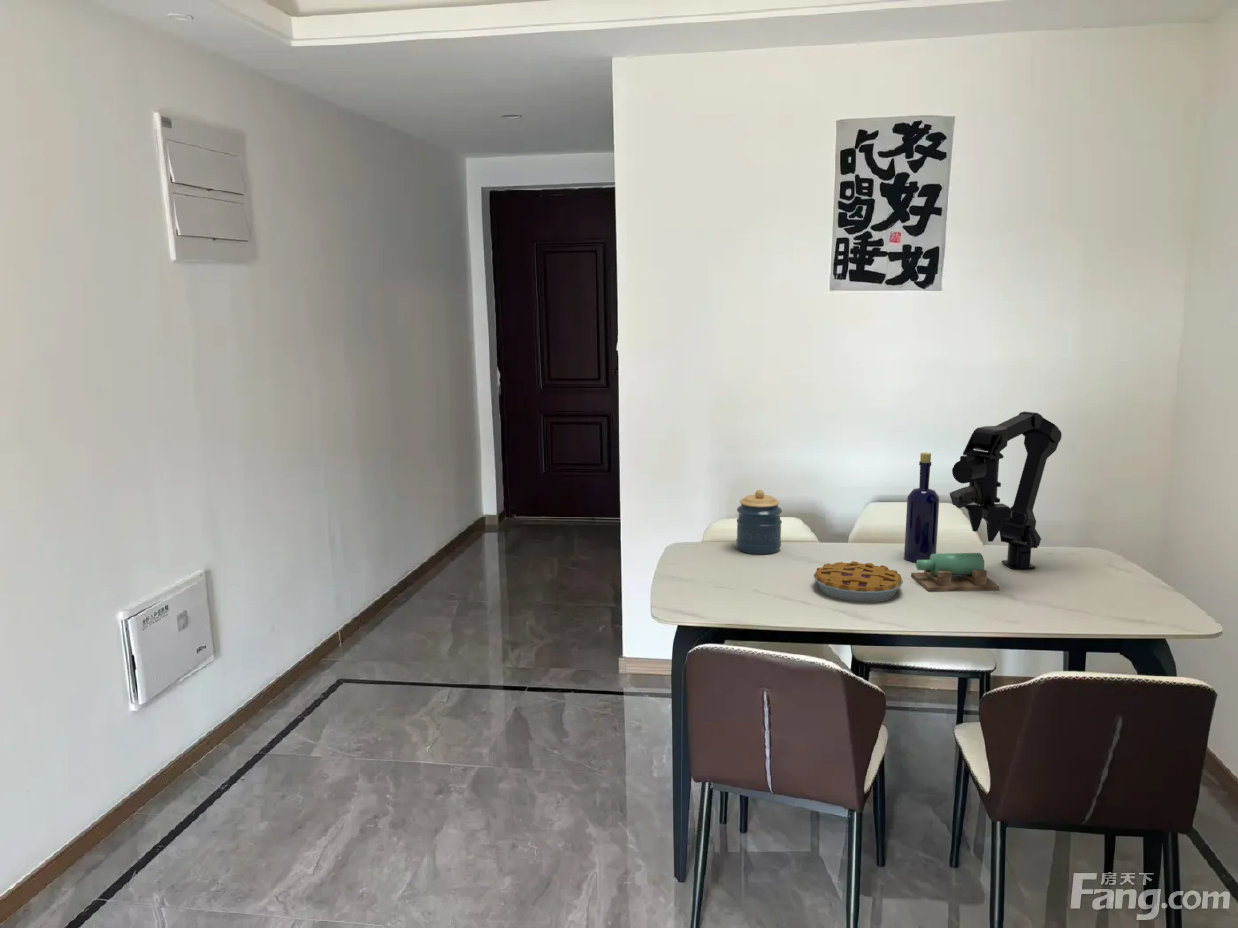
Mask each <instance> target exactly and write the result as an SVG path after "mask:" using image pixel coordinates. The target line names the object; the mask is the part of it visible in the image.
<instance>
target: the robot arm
mask: <svg viewBox="0 0 1238 928" xmlns="http://www.w3.org/2000/svg"><path fill="white" fill-rule="evenodd" d="M1020 435H1021V436H1023V437H1024V439H1023V445H1024V448H1025V452H1026V457H1025V462H1024V466H1023V469H1022V473H1021V477H1020V479H1019V483H1018V486H1017V491H1016V493H1015V494H1016V495H1015V498H1014V500H1013V504H1012V506H1011V507H1010V506H1008V505H1007V504H1004V503H1001V499H1000V497H998V488H1001V486H1002V483H1001V481H999V467H1000V466H999V465H1000V460H1002V459H1004V455H1003V454H1002V453H1001V452H1002V451H1003V450H1004V449H1006V447H1008V442H1009V441H1011V440H1013V439H1015V438H1017V437H1019V436H1020ZM1062 436H1063V435H1062V431H1061V429H1059V427H1058V426H1057V425H1056V424H1055V423H1053V422H1051V421H1050V420H1048V419H1047V418H1044V417H1043V416H1042V414H1040V413H1038V412H1033V411H1021V412H1019V414H1017V415H1015V416H1013V417H1011V418H1009V419H1007V420H1005V421H1003V422H1000V423H998V424H997V425H987V426H980V427H977V428H975V429H974V430H973V431H972V433H971V435H970V437H969V440H968V442H967V444H966V445H965V449H963V453H962V455H961V456H960V457H959V461H957V462H955V464H954V465H953V467H952V470H951V473H952V476H953V478H954V479H955V481H957V482H958V483H959V484H968V483H969V484H968V486H965V487H961V488H958V489H956V490H954V491H951V492H949V497H950V500H951V503H952V505H953V506H955V507H956V508H957V509H961V508H964V509H966V510H967V514H968V517H969V522H970V526H971V530H972V531H973V532H978V530H979V528H980V526H981V523H982V521H983V520H984V521H985V524H986V535H987V541H988V542H994V540H995V539H996V537H997V535H998V533H999V537H1000V538H999V539H1000V542H1001V543H1006V544H1008V545H1007V555H1006V557H1007V558H1006V560H1005V559H1004V560H1003V559H1002V560H1001V563H1002V564H1003V565H1005V566H1007V567H1008V568H1010V569H1012V570H1020V569H1021V570H1025V569H1026V570H1028V569H1029V570H1032V569H1033V570H1035V569H1036V566H1035V565H1034V564H1031V557H1032V549H1038V547H1040V544H1041V540H1042V538H1041V536H1040V534H1039V533H1038V531H1037V529H1036V526H1037V525H1036V524H1037V519H1036V517H1035V513H1034V506H1035V503H1036V499H1037V496H1038V492H1039V489H1040V486H1041V485H1040V484H1041V481H1042V477H1043V475H1044V471H1045V467H1046V463H1047V460H1048V459H1049V457H1050V456H1051V455H1053V454H1054V453H1055V452H1056V450H1057V448H1058V447H1059V443H1060V442H1061V440H1062ZM982 519H983V520H982Z"/></svg>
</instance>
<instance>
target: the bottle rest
mask: <svg viewBox="0 0 1238 928" xmlns="http://www.w3.org/2000/svg"><path fill="white" fill-rule="evenodd" d="M910 577H911V578H912V579H913V580H915V581H916V582H917V583H918V584H919V585H920V586H921V587H922V588H924V589H925V590H926V591H928V592H929V593H930V592H931V593H932V592H965V591H966V592H967V591H970V592H971V591H973V592H974V591H978V592H979V591H1000V589H1001V588H1000V585H999V584H997V583H996V582H995V581H993V580H991V579H990V578H989V577H988V571H987V570H985V569H984V570H973V572H972V575H951V572H950V571H937V576H933V575H932V574H931V571H930V570H923V572H911V574H910Z"/></svg>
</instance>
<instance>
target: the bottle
mask: <svg viewBox="0 0 1238 928" xmlns="http://www.w3.org/2000/svg"><path fill="white" fill-rule="evenodd" d="M918 465H919V483H918V484H919V487H917V488H916V487H915V488H913V489H912V490H911V491H910V492H909V494H908V495H907V499H906V518H905V534H904V536H905V537H904V553H903V554H904V555H903V560H905V561H907V562H910V563H914V564H916V561H917V560H929V559H930V556H931V554H938V553H937V551H938V550H937V549H938V531H939V530H938V529H939V514H940V499H941V498H940V495H939V493H937V491H936V490H935V489H932V488H929V486H930V478H931V476H930V475H931V467H932V453H931V452H920V461H919V463H918Z"/></svg>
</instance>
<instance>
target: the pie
mask: <svg viewBox="0 0 1238 928" xmlns="http://www.w3.org/2000/svg"><path fill="white" fill-rule="evenodd" d="M813 579H814V580H815V582H816V583H818V586H819V589H820V590H821V592H822V593H823V592H824V593H823V594H825V595H826V596H828V597H832V598H834V597H835V599H839V600H842V601H843V600H844V601H845V600H846V601H852V602H862V603H863V602H865V603H866V602H868V603H870V602H871V603H874V602H881V601H882V602H883V601H887V600H890V599H892V598H893V597H894V596H895V594H896V592H897V591H898V590H899V589H901V587H902V585H903V583H904V580H903V579H902V575H901V574H900V573H898V571H897V570H893V569H889V567H887V566H885V565H883V564H881V565H875V564H873V563H870V562H869V563H868V562H867V563H860V562H858V561H853V560H852V561H851V562H843V561H840V562H838V561H837V562H835V563H833V564H830V563H824V564H823V566H822V567H817V568H816V571H815V572H814V574H813Z"/></svg>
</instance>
